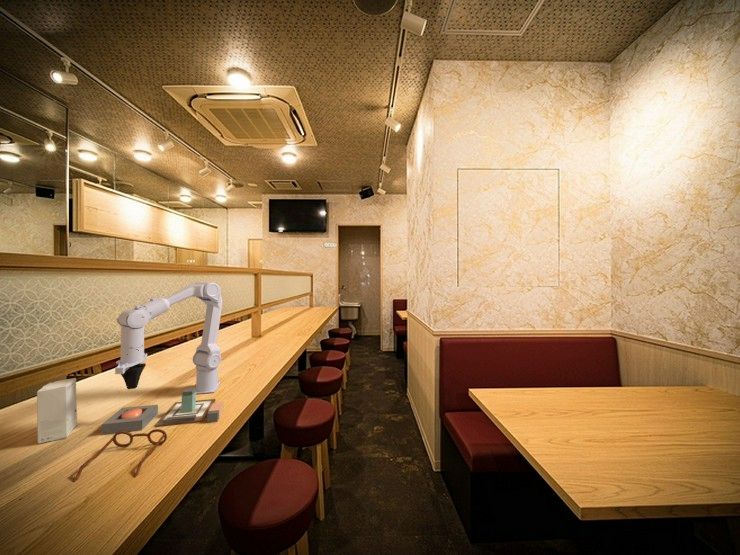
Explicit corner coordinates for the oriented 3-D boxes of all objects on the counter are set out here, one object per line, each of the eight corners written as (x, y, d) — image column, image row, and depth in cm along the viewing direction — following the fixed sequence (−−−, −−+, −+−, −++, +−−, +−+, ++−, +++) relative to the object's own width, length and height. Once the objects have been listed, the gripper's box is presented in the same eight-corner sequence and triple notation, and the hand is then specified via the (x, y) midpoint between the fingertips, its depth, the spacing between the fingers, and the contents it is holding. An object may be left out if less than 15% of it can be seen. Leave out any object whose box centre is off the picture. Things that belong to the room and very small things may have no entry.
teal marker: (185, 408, 95) (185, 388, 94) (195, 407, 95) (195, 387, 95) (181, 412, 91) (181, 392, 91) (192, 411, 92) (192, 391, 92)
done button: (127, 418, 88) (127, 409, 87) (144, 416, 89) (144, 407, 89) (117, 426, 83) (117, 417, 83) (136, 424, 84) (136, 415, 84)
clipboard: (175, 404, 99) (175, 399, 99) (215, 400, 102) (215, 396, 102) (155, 426, 84) (155, 421, 84) (202, 421, 88) (202, 416, 88)
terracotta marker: (212, 412, 94) (213, 403, 94) (223, 411, 95) (223, 402, 95) (206, 423, 87) (207, 413, 87) (217, 422, 88) (218, 412, 88)
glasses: (167, 444, 77) (168, 426, 77) (135, 479, 64) (136, 458, 64) (114, 447, 75) (115, 429, 75) (71, 484, 62) (71, 462, 62)
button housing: (122, 416, 89) (122, 407, 89) (157, 413, 92) (158, 404, 92) (101, 434, 80) (101, 424, 80) (142, 430, 82) (142, 420, 82)
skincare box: (67, 438, 77) (67, 386, 77) (35, 445, 74) (35, 391, 74) (77, 424, 84) (78, 376, 84) (48, 429, 81) (49, 380, 81)
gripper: (130, 341, 94) (129, 380, 94) (102, 353, 80) (102, 399, 80) (154, 340, 96) (154, 378, 96) (131, 352, 82) (131, 397, 82)
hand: (132, 388), depth 88 cm, fingers closed
